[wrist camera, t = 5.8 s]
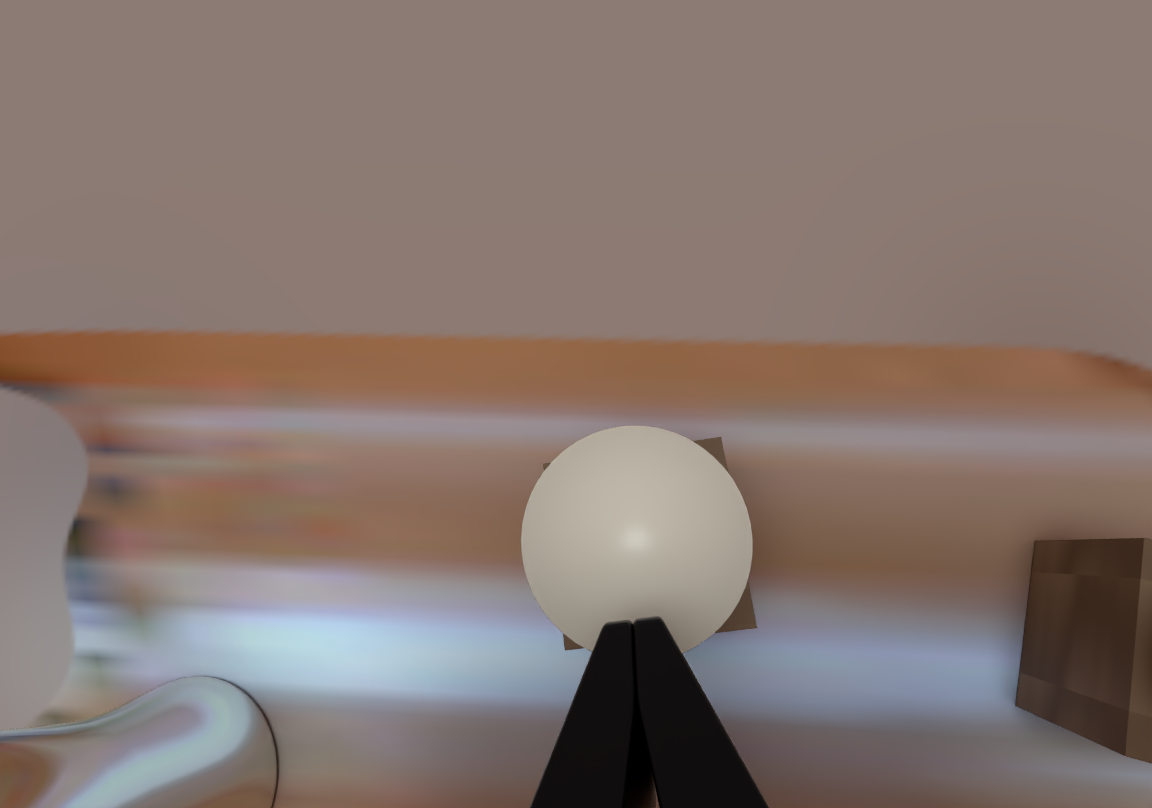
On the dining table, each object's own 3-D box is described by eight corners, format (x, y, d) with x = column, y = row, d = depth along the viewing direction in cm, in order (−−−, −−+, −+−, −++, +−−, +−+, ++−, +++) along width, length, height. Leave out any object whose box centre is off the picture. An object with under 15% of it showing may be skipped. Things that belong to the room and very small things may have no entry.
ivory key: (742, 616, 16) (774, 647, 11) (577, 635, 16) (534, 674, 11) (712, 451, 17) (728, 409, 12) (557, 474, 17) (510, 443, 12)
